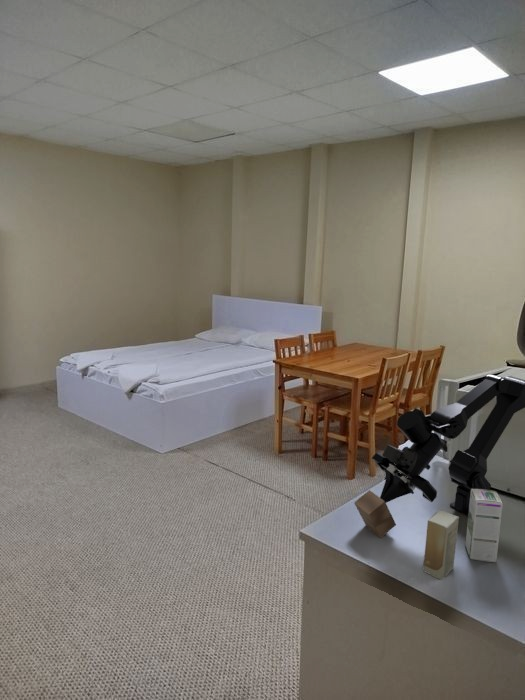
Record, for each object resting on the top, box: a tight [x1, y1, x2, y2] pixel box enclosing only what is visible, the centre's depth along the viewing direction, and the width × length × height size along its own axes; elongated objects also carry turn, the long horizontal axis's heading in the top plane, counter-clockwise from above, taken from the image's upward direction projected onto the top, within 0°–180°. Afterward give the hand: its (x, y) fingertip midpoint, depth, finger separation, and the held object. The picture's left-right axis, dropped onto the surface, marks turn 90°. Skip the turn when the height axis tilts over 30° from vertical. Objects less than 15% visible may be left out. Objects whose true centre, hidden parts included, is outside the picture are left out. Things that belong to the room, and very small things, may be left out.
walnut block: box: [354, 489, 397, 539], centre depth 118 cm, size 5×6×8 cm
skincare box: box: [422, 509, 460, 581], centre depth 104 cm, size 6×4×12 cm
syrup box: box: [465, 489, 504, 563], centre depth 110 cm, size 6×6×14 cm
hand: (380, 502), depth 118 cm, fingers closed
